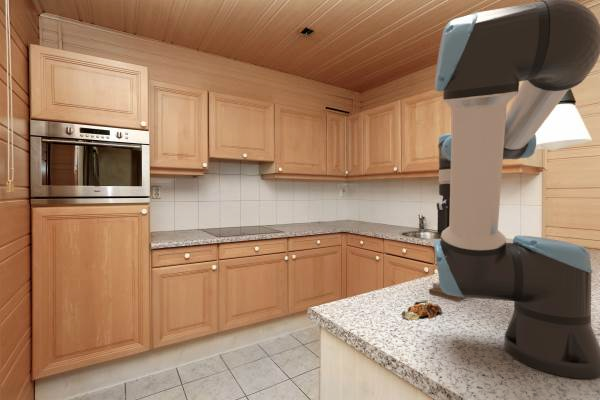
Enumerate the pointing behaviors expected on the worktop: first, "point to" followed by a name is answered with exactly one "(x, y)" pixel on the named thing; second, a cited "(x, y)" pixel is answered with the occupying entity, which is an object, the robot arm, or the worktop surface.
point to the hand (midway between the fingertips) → (452, 255)
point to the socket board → (438, 292)
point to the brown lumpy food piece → (421, 310)
